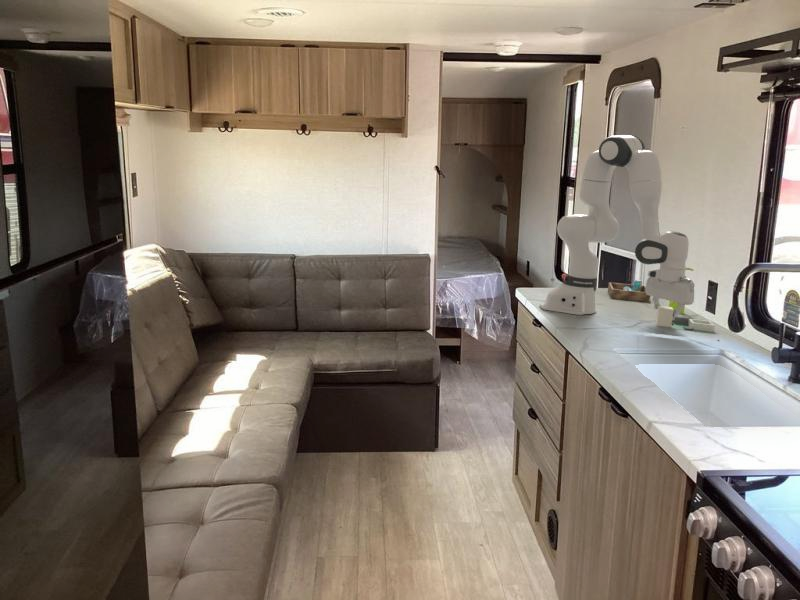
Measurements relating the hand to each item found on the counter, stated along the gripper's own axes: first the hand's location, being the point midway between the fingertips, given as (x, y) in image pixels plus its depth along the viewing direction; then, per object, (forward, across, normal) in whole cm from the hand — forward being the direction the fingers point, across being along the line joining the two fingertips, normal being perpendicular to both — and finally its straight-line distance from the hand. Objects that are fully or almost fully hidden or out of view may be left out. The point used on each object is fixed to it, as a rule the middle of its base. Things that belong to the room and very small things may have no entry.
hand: (666, 311), depth 242 cm
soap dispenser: (+6, +15, -23) cm, 28 cm away
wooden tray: (+5, +49, -28) cm, 57 cm away
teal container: (+5, +48, -30) cm, 57 cm away
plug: (+7, +1, 0) cm, 7 cm away
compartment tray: (+7, -3, -10) cm, 13 cm away
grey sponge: (+5, +2, -9) cm, 11 cm away
